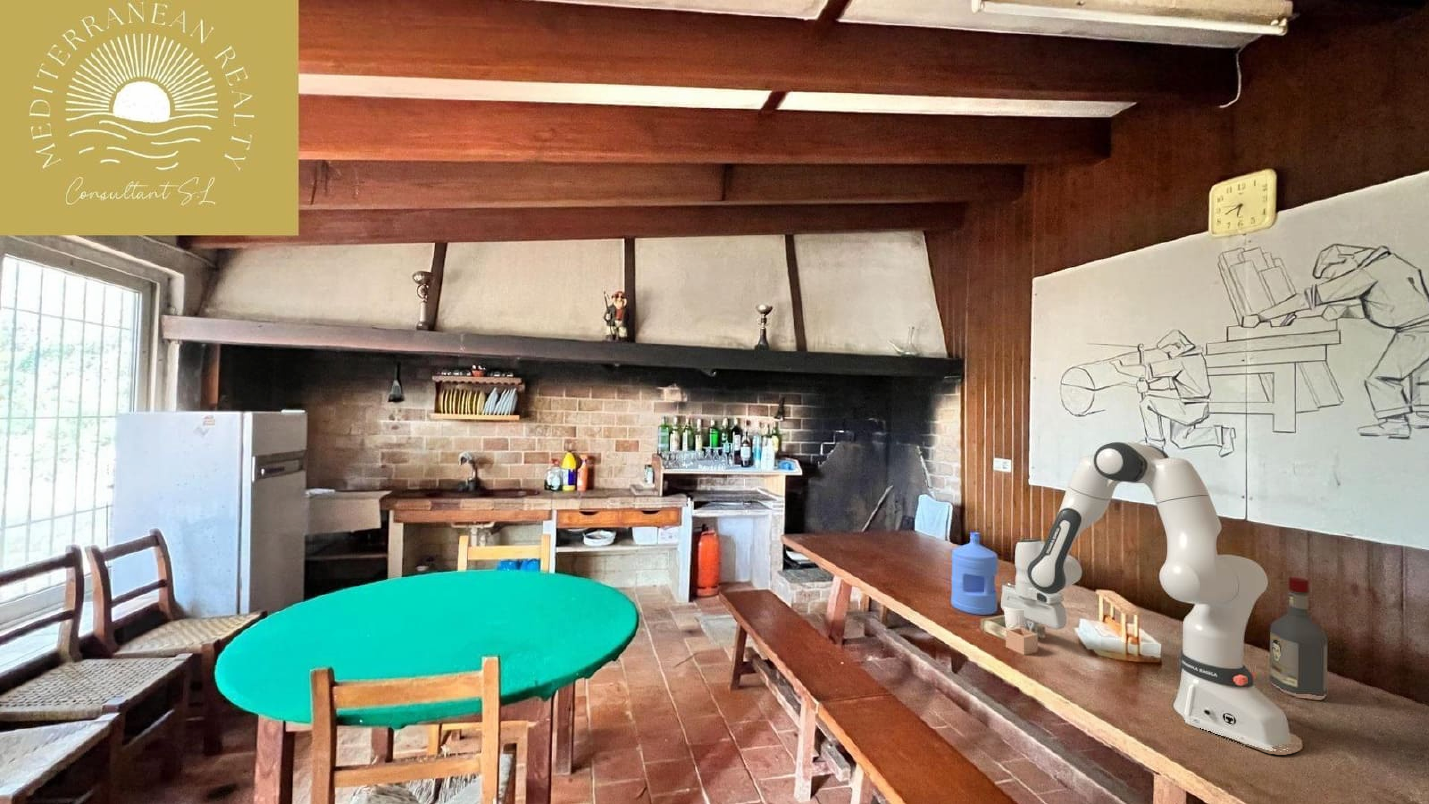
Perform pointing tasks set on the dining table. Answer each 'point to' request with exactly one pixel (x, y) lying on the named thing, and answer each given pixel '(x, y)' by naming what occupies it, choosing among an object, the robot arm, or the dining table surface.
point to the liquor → (1298, 646)
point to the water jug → (974, 578)
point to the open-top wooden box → (1022, 640)
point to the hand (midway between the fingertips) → (1032, 633)
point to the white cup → (1014, 618)
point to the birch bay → (1002, 626)
